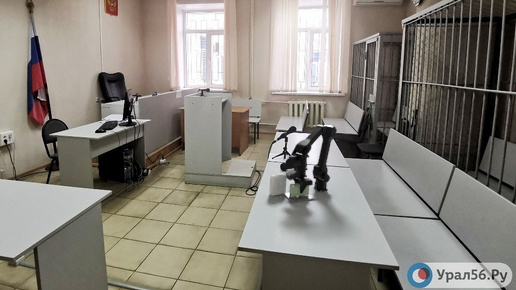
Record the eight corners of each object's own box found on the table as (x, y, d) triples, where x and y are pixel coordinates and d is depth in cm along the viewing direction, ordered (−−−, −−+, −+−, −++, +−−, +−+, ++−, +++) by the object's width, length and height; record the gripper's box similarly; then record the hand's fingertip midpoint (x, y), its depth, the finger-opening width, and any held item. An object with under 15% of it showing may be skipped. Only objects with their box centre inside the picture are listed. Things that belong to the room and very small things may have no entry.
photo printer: (282, 191, 196) (283, 171, 193) (286, 193, 193) (288, 173, 190) (268, 194, 191) (269, 173, 188) (272, 196, 187) (273, 176, 184)
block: (304, 191, 191) (305, 182, 190) (308, 194, 187) (309, 185, 186) (289, 193, 188) (289, 184, 186) (292, 196, 183) (293, 186, 182)
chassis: (305, 192, 195) (305, 187, 194) (314, 199, 185) (314, 193, 184) (283, 194, 190) (283, 189, 189) (291, 202, 180) (292, 196, 179)
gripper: (281, 162, 189) (279, 187, 193) (295, 172, 172) (293, 199, 176) (298, 160, 193) (296, 185, 197) (314, 170, 176) (312, 197, 180)
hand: (299, 192), depth 187 cm, fingers closed on block, 4 cm apart
